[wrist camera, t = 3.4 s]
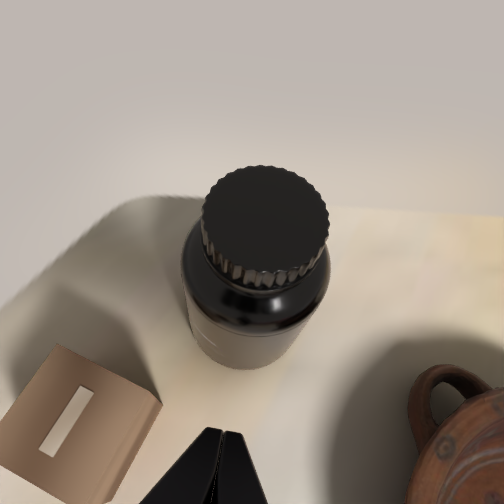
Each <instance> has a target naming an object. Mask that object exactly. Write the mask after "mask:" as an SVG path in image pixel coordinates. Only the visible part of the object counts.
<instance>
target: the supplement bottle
mask: <svg viewBox="0 0 504 504" xmlns="http://www.w3.org/2000/svg"><path fill="white" fill-rule="evenodd" d="M328 216H329V213H328V211H327V210H326V203H325V202H324V201H323V200H322V199H321V195H320V193H318V192H317V191H316V190H315V188H314V186H313V185H311V184H309V183H308V182H307V181H306V180H305V178H303V177H300V176H298V175H297V174H296V173H295V172H290V171H287V170H286V169H284V168H276V167H274V166H263V165H258V166H247V167H245V168H243V169H241V168H240V169H237V170H235V171H234V172H231V173H228V174H227V175H226V176H225V177H224V178H221V179H219V180H218V182H217V184H216V185H214V186H212V187H211V190H210V193H209V194H208V195H207V196H206V197H205V203H204V205H203V206H202V216H201V217H200V218H199V219H198V220H197V221H196V222H195V224H194V225H193V226H192V228H191V229H190V231H189V233H188V235H187V237H186V239H185V242H184V245H183V248H182V254H181V275H182V281H183V287H184V292H185V298H186V303H187V309H188V314H189V319H190V324H191V328H192V332H193V334H194V337H195V339H196V341H197V343H198V344H199V346H200V347H201V349H202V350H203V351H204V352H205V353H206V354H207V355H208V356H209V357H210V358H211V359H213V360H214V361H216V362H217V363H219V364H221V365H224V366H226V367H229V368H233V369H238V370H251V369H257V368H261V367H264V366H267V365H269V364H271V363H272V362H274V361H276V360H277V359H278V358H280V357H281V356H282V355H283V354H284V353H285V352H286V351H287V350H288V349H289V347H290V346H291V345H292V343H293V342H294V340H295V339H296V338H297V336H298V335H299V333H300V332H301V331H302V329H303V328H304V326H305V325H306V324H307V322H308V321H309V319H310V318H311V316H312V315H313V314H314V312H315V311H316V309H317V308H318V306H319V305H320V303H321V301H322V299H323V298H324V296H325V293H326V291H327V288H328V285H329V280H330V272H331V263H330V256H329V252H328V248H327V245H326V241H327V239H328V236H329V233H328V229H329V227H330V222H329V220H328Z"/></svg>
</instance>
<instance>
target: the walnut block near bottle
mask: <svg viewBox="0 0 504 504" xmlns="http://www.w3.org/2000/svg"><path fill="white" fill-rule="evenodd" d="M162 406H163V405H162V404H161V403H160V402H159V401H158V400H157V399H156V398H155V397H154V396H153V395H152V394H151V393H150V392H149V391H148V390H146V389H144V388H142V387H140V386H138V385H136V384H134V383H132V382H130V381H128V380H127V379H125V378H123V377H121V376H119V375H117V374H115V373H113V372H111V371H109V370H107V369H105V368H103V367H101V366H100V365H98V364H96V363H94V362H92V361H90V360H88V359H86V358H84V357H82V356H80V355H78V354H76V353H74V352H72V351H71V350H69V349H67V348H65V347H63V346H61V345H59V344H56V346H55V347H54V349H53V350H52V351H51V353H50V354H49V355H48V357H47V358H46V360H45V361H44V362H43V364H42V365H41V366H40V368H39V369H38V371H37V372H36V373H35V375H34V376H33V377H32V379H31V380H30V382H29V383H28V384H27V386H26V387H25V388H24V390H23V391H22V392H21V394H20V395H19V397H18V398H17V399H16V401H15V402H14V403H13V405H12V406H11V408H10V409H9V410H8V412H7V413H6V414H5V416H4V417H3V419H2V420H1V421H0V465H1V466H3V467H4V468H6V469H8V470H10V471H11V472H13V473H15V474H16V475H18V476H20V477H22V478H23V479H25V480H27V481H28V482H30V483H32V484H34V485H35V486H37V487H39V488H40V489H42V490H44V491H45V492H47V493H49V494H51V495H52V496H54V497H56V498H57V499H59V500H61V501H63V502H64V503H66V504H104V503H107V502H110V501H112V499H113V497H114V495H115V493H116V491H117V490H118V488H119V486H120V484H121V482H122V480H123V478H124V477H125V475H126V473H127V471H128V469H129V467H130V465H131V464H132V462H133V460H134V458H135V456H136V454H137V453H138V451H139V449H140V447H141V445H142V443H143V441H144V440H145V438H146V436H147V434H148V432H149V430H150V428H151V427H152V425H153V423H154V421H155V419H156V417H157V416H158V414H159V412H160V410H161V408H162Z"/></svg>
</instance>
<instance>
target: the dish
mask: <svg viewBox="0 0 504 504" xmlns="http://www.w3.org/2000/svg"><path fill="white" fill-rule="evenodd" d="M441 382H446V383H449V384H450V385H452V386H453V387H455V388H456V389H457V390H458V391H459V392H460V393H461V394H462V395H463V396H464V398H465V399H466V400H465V401H464V403H463V404H461V405H460V406H459V407H458V409H457V410H456V411H455V412H454V413H453V414H452V415H450V416H449V417H447V418H446V419H445V420H443V422H442V424H441V425H440V426H439V425H438V424H436V422H435V420H434V418H433V415H432V412H431V408H430V397H431V391H432V389H433V388H434V387H435V386H436V385H438V384H439V383H441ZM408 417H409V421H410V425H411V428H412V432H413V435H414V438H415V441H416V445H417V448H418V451H419V455H420V456H419V458H418V460H417V462H416V465H415V467H414V470H413V472H412V475H411V478H410V481H409V485H408V488H407V491H406V495H405V502H404V504H504V388H496V389H492V388H491V387H490V386H488V385H487V384H486V383H485V382H484V381H483V380H481V379H480V378H479V377H477V376H476V375H475V374H473V373H471V372H468V371H466V370H464V369H462V368H460V367H457V366H454V365H449V364H448V365H435V366H433V367H431V368H429V369H427V370H426V371H425V372H423V373H422V374H421V375H419V377H418V378H417V380H416V382H415V384H414V385H413V387H412V388H411V391H410V395H409V402H408Z"/></svg>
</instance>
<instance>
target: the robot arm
mask: <svg viewBox="0 0 504 504" xmlns="http://www.w3.org/2000/svg"><path fill="white" fill-rule="evenodd" d="M223 434H224V435H223ZM222 439H223V441H222ZM221 445H222V446H221ZM220 450H221V451H220ZM219 456H220V457H219ZM218 461H219V462H218ZM217 467H218V468H217ZM216 472H217V473H216ZM215 478H216V479H215ZM214 483H215V484H214ZM213 488H214V489H213ZM212 494H213V495H212ZM211 499H212V500H211ZM139 504H268V503H267V500H266V497H265V494H264V492H263V489H262V486H261V483H260V481H259V478H258V475H257V472H256V470H255V467H254V464H253V462H252V459H251V456H250V453H249V451H248V448H247V445H246V442H245V440H244V437H243V435H242V434H241V433H237V432H232V431H225V432H223V430H221V429H216V428H211V427H207V428H205V429H204V430H203V431H202V432H201V433H200V435H199V436H198V437H197V438H196V439H195V440H194V441H193V443H192V444H191V445H190V446H189V447H188V448H187V449H186V451H185V452H184V453H183V454H182V455H181V456H180V457H179V459H178V460H177V461H176V462H175V463H174V464H173V465H172V467H171V468H170V469H169V470H168V471H167V472H166V473H165V475H164V476H163V477H162V478H161V479H160V480H159V481H158V483H157V484H156V485H155V486H154V487H153V488H152V489H151V491H150V492H149V493H148V494H147V495H146V496H145V497H144V499H143V500H142V501H141V502H140V503H139Z"/></svg>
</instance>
